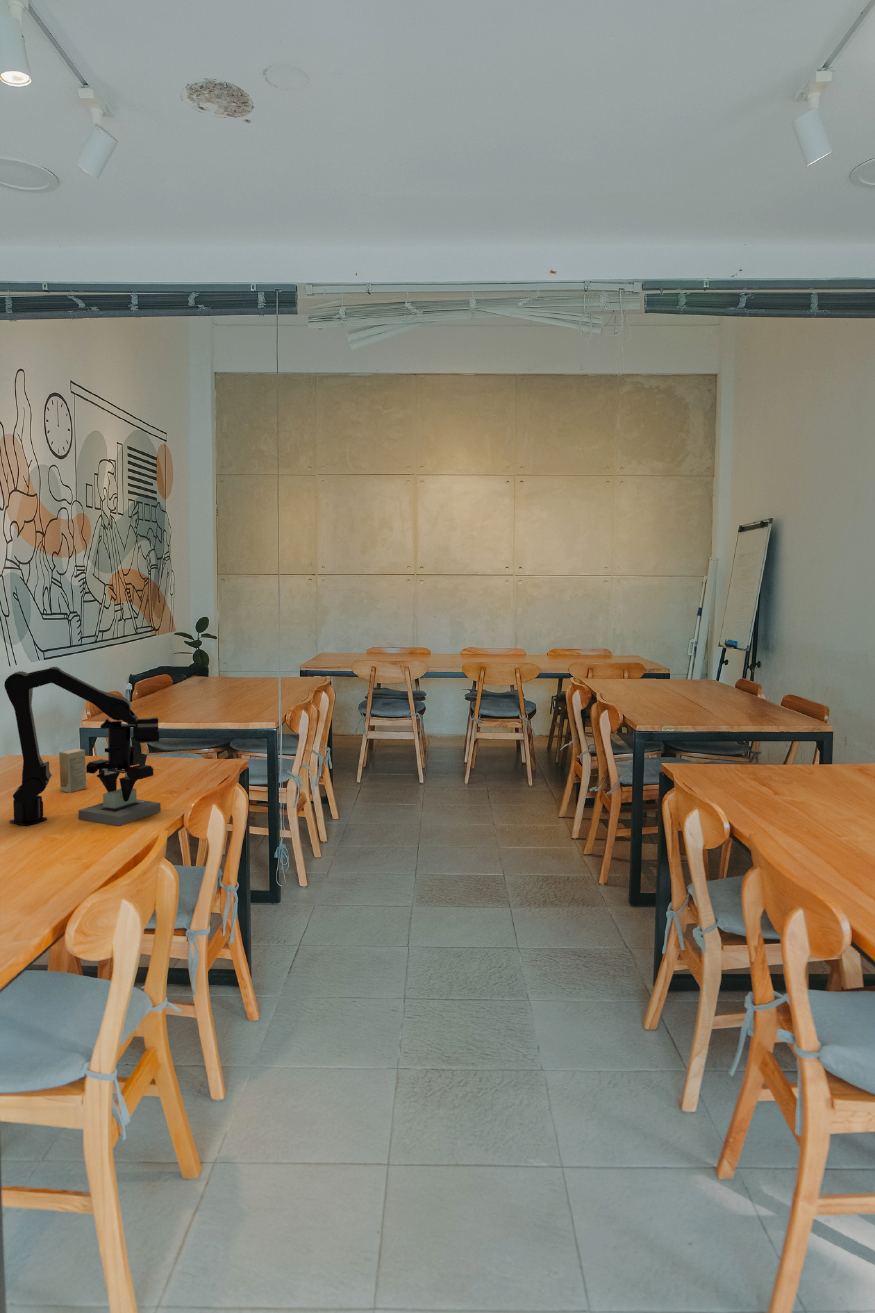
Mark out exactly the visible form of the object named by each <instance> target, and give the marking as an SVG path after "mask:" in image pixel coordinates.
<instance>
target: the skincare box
mask: <svg viewBox="0 0 875 1313" xmlns="http://www.w3.org/2000/svg"><path fill="white" fill-rule="evenodd" d="M58 754H59V756H58V757H59V759H58V760H59V780H60V784H59V785H60V792H65V793H68V794H69V793H74V792H77V791H81V790H85V789H87V773H86V766H87V764H86V750H85V749H81V748H73V749H69V750H63V751H59V752H58Z"/></svg>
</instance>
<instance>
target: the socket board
mask: <svg viewBox="0 0 875 1313" xmlns="http://www.w3.org/2000/svg"><path fill="white" fill-rule="evenodd" d="M161 805H162V804H161V802H157V801H152V800H144V799H138V798H136V802H134V803H130V804H127V805H124V806H121V807H118V808H108V807H103V802H101V803H98V804H95V805H91V806H88V807H84V808H81V809H78V811H77V812H78V820H81V821H85V822H91V823H92V822H93V823H99V824H105V825H109V826H118V827H120V826H124V825H126V824H129V823H132V822H136V821H138V820H141V819H143V818H146V817H147V818H148V817H149V816H152V815H155V814H157V813H161V810H162V809H161V807H162V806H161Z"/></svg>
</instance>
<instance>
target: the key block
mask: <svg viewBox="0 0 875 1313" xmlns="http://www.w3.org/2000/svg"><path fill="white" fill-rule="evenodd" d="M136 799H137V788H133V789H132V791H131V794H130V797H129V800H128V801H126V802H125V801H124V799H123V795H122V790H121V788H119V789H118V788H117V790H115V791H111V792H108V791H107V792H105V793H103V794H102V803H103V807H108V808H118V807H121V806H124V805H127V804H130V803H134V802H136Z"/></svg>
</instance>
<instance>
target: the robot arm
mask: <svg viewBox="0 0 875 1313" xmlns="http://www.w3.org/2000/svg"><path fill="white" fill-rule="evenodd" d="M48 684H53V685H56V686H57V687H59V688H61V689H64V690H66V691H67V692H68V693H69V692H70V693H72V694H73V695H75V696H77V697H79V698H82V700H85V701H87V702H89V703H91V704H92V705H94V706H95V707H96V708H98V709H99V710H100V711H101V712H102V713H103V714H105V715H106V716H107V717H109V718H110V719H112V720H113V721H112V720H110V719H109V718H107V717H106V719H105V721H103V723H101V724H100V727H99V728H100V729H101V730H102V729H107V747H105V748H104V753H108V754H107V755H108V756H107V757H108V758H107V759H104V758H103V759H96V760H92V761H89V762H88V763H87V764H86V774H93V775H94V774H96V773H97V772H98V774H97V775H96V777H97V778H98V779H99V780H100V782H101V783H102V784H103V786H104V788H105V789H106V791H107V793H108V792H111V791H115V790H118V788H117V787H118V786H117V785H118V784H117V782H118V781H117V780H118V778H119V784H120V789H121V790H122V795H123V799H124V801H125V802H126V801H128V800H129V797H130V794H131V791H132V789H134V786H135V784H136V782H137V781H138V780H142V779H146V778H150V777H153V776H154V768H153V766H152V765H149V764H146V763H147V762H146V761H147V759H148V758H147V757H148V754H146V753H142V752H137V751H136V748H135V746H132V745H131V744H132V742H131V734H132V739H133V740H134V741H137V744H149V743H159V742H160V727H159V717H149V718H148V717H147V718H138V716H137V714H135V712H134V711H132V708H131V702H130V700H129V699H128V698H126V697H124V696H121V695H118V694H116V693H111V692H108V691H104V690H101V689H98V688H96V687H95V686H93V685H91V684H89V683H87V682H85V681H83V680H82V679H79V678H77V677H76V676H74V675H71V674H70V673H68V672H66V671H64V670H62V669H61V668H60V667H58V666H51V667H49V668H46V669H40V670H35V671H31V672H25V671H23V670H22V671H20V670H18V671H16V672H14V673H11V675H9V676H7V678H6V679H5V680H4V685H3V686H4V689H5V692H6V695H7V697H8V699H9V701H10V703H11V705H12V707H13V711H14V714H15V720H16V725H17V732H18V737H19V743H20V748H21V754H22V760H23V763H22V773H21V784H20V786H18V787H17V789H16V790H15V791H14V793H13V794H12V798H13V804H12V805H13V819H10V820H9V823H10V824H17V825H23V826H29V825H33V824H37V823H40V822H42V821H46V820H47V817H45V816H44V801H43V796H41V795H40V794H42V793H43V792H44V791H45V790H46V788H47V786H48V784H49V782H50V779H51V777H52V773H51V771H50V761H45V762H44V761H43V759H42V757H41V753H40V748H39V742H38V741H39V740H38V736H37V729H36V725H35V723H36V722H35V719H34V713H33V712H34V711H33V706H32V704H33V703H32V702H33V693H34V692H33V691H34V689H35V688H38V687H42V686H45V685H48ZM123 722H124V723H123ZM131 728H132V729H131ZM131 730H132V732H131ZM120 773H121V774H124V776H123V777H119V776H120Z"/></svg>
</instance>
